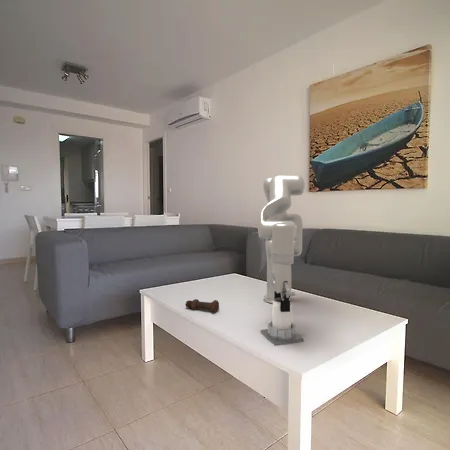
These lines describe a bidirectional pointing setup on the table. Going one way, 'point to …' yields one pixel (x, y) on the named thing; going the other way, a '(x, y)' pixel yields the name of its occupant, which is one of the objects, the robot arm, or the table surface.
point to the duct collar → (281, 335)
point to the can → (280, 316)
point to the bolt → (203, 305)
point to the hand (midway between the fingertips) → (281, 306)
